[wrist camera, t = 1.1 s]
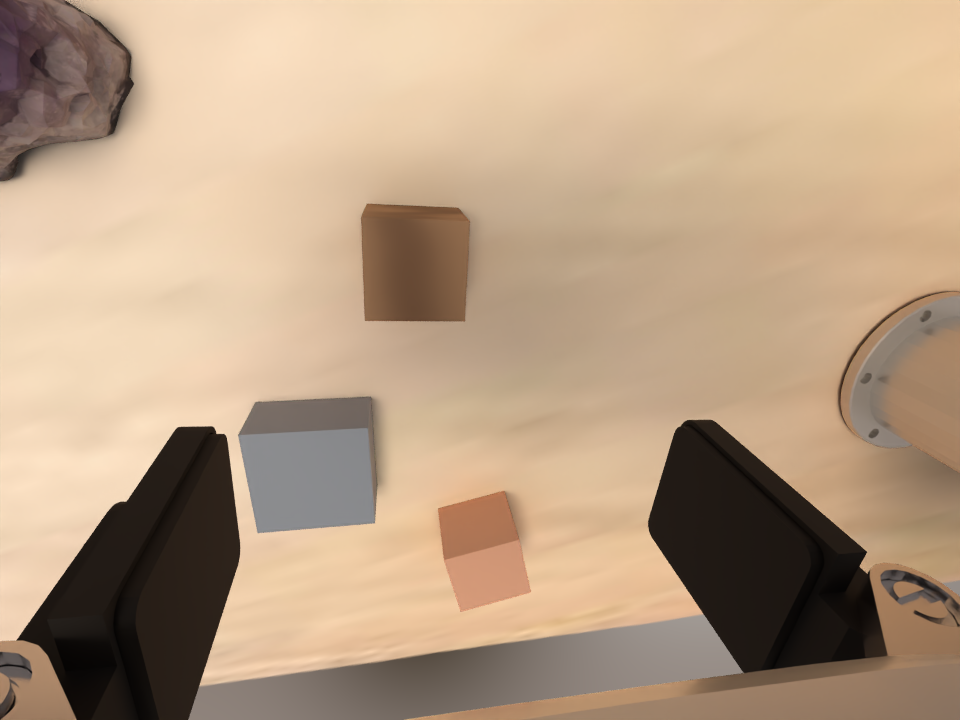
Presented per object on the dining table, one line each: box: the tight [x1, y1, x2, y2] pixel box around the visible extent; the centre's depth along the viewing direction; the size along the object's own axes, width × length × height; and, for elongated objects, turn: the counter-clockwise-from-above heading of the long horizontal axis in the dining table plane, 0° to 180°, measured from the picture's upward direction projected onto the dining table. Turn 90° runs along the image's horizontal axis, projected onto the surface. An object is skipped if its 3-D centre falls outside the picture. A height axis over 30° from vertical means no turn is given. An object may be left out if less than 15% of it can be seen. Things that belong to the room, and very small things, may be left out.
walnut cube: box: [361, 204, 470, 321], centre depth 26 cm, size 5×5×5 cm
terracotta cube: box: [438, 491, 531, 612], centre depth 35 cm, size 5×5×5 cm
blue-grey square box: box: [238, 397, 377, 533], centre depth 31 cm, size 7×7×4 cm
